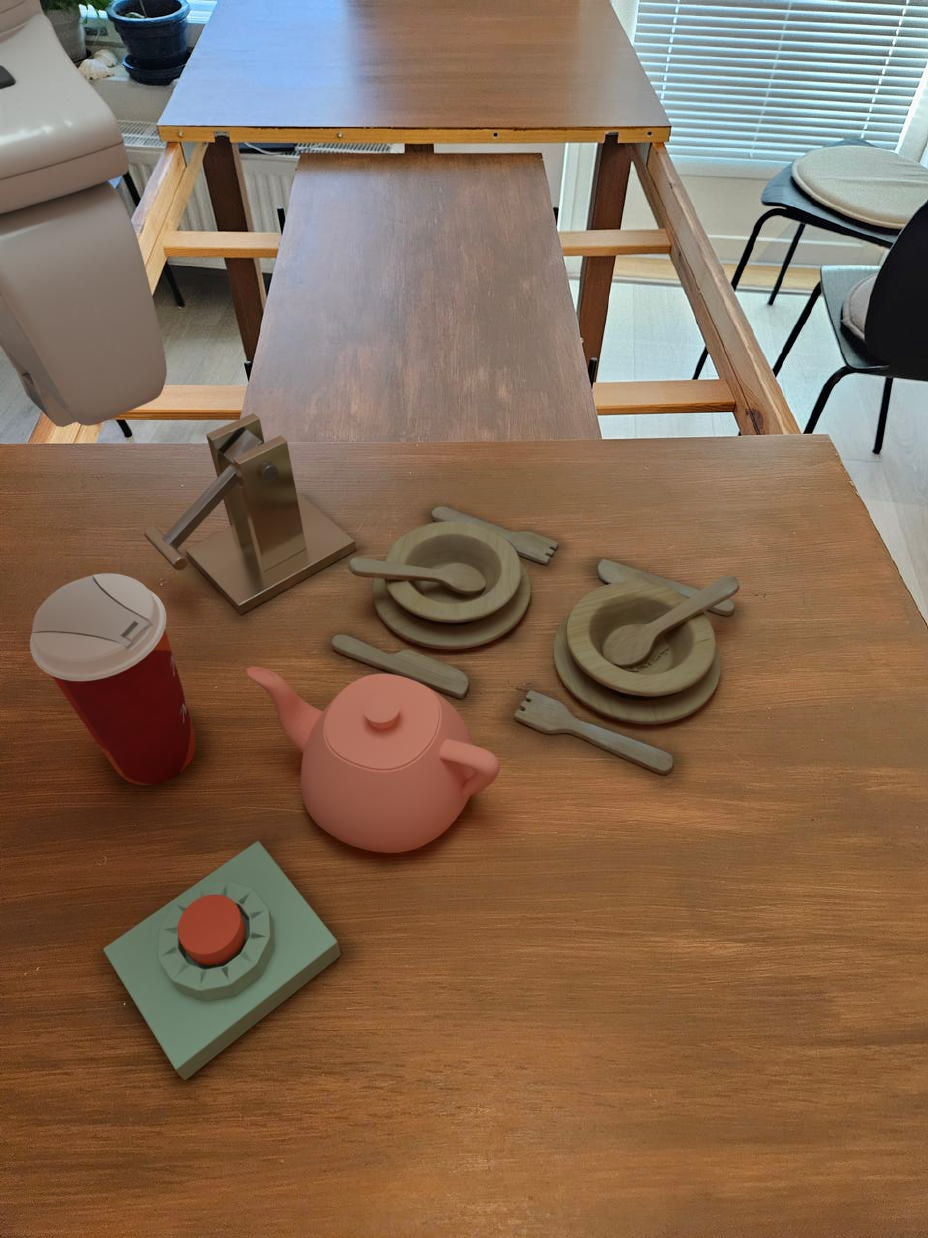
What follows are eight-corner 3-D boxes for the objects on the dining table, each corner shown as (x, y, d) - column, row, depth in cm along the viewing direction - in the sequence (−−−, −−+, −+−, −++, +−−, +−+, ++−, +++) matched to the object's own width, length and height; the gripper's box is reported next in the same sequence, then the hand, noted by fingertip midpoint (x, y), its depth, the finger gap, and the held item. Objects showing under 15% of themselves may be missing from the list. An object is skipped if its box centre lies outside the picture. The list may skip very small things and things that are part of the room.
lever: (185, 576, 71) (166, 563, 69) (155, 543, 73) (135, 530, 71) (287, 465, 71) (271, 449, 69) (253, 436, 74) (237, 420, 72)
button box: (184, 1081, 51) (167, 1060, 48) (112, 962, 55) (92, 936, 52) (341, 955, 56) (334, 929, 53) (263, 855, 60) (253, 826, 57)
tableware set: (324, 649, 72) (315, 598, 68) (434, 505, 84) (432, 454, 80) (680, 786, 64) (696, 738, 59) (746, 604, 75) (764, 554, 71)
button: (204, 979, 51) (197, 967, 50) (173, 933, 53) (166, 920, 52) (257, 938, 53) (252, 926, 51) (226, 895, 55) (220, 882, 53)
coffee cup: (234, 728, 67) (187, 590, 56) (166, 816, 62) (100, 684, 51) (144, 691, 70) (83, 551, 58) (72, 773, 65) (-11, 638, 53)
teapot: (464, 899, 58) (464, 827, 51) (227, 808, 63) (196, 730, 56) (526, 753, 66) (532, 673, 58) (310, 682, 70) (292, 599, 63)
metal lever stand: (241, 615, 75) (208, 497, 65) (188, 559, 79) (150, 441, 70) (356, 550, 80) (341, 432, 71) (300, 501, 85) (279, 384, 75)
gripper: (-246, 29, 35) (-85, 343, 45) (-61, 191, 25) (94, 551, 35) (-83, -1, 38) (34, 302, 48) (145, 134, 28) (233, 483, 38)
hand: (61, 409), depth 42 cm, fingers closed
